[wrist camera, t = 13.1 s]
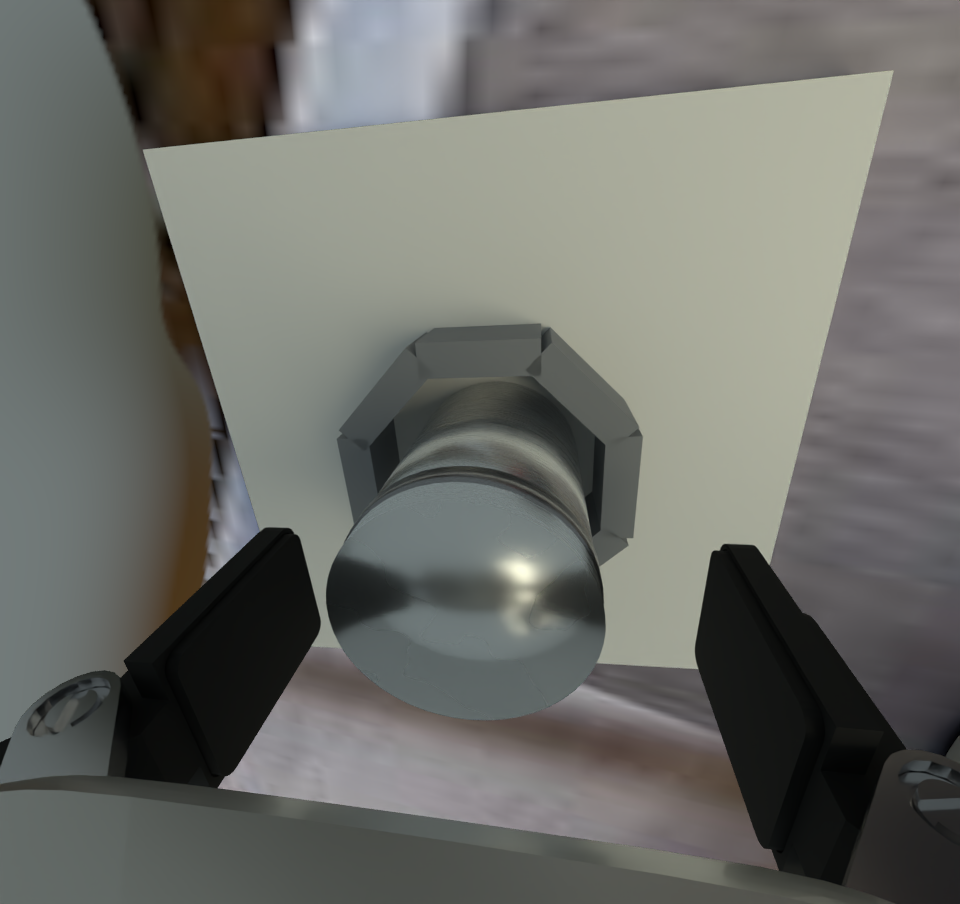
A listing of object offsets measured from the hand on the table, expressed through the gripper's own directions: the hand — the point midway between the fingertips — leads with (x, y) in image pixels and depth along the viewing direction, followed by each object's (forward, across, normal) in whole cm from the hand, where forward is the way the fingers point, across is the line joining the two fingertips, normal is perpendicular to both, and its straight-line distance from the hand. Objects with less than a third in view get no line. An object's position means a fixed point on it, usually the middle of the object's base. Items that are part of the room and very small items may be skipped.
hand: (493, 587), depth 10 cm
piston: (+6, +1, 0) cm, 6 cm away
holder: (+7, +1, 0) cm, 8 cm away
